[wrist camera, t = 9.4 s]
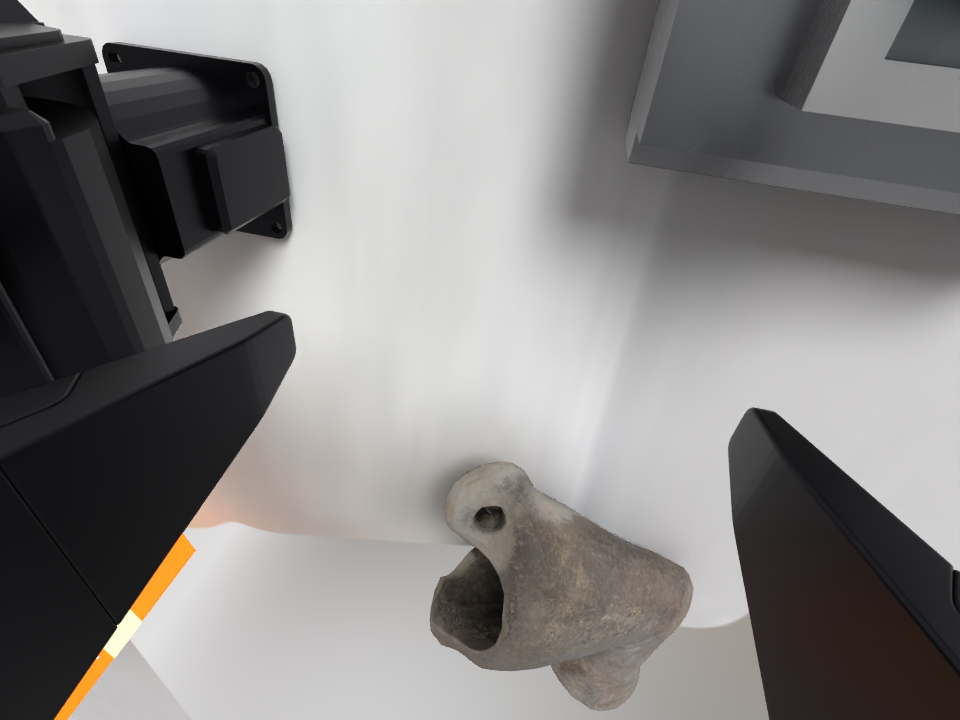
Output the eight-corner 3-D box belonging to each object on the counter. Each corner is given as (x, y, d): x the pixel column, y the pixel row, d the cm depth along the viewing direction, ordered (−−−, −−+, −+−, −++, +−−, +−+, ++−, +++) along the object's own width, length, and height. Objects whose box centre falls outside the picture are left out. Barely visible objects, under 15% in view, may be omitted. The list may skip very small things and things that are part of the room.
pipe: (618, 421, 34) (411, 431, 28) (732, 460, 26) (480, 487, 19) (596, 640, 36) (397, 699, 29) (698, 739, 28) (455, 851, 21)
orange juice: (61, 481, 39) (-317, 807, 23) (150, 489, 37) (-197, 856, 21) (114, 541, 43) (-172, 850, 27) (197, 552, 41) (-60, 894, 25)
